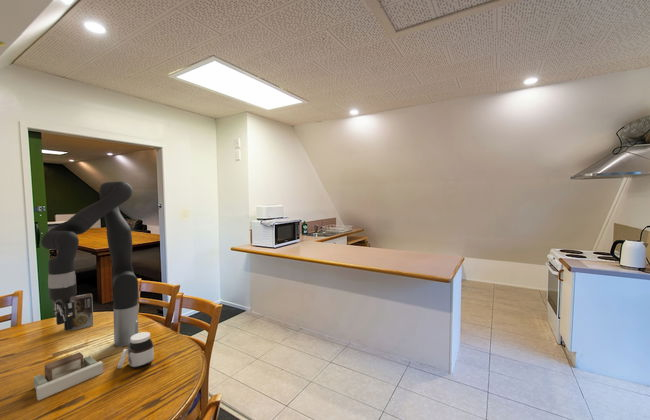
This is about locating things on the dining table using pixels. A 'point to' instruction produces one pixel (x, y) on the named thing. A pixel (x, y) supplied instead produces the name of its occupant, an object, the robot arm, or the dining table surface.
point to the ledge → (67, 379)
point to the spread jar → (138, 351)
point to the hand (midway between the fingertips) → (64, 326)
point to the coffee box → (82, 311)
